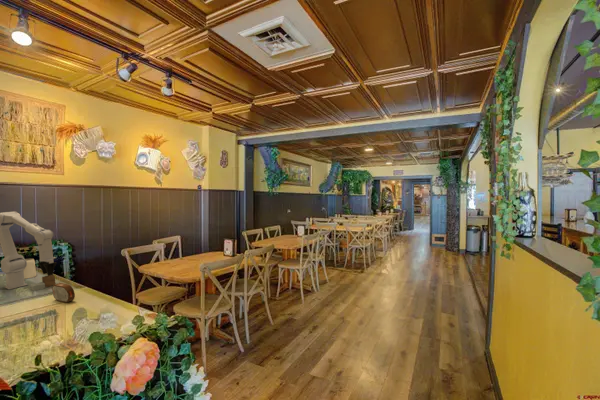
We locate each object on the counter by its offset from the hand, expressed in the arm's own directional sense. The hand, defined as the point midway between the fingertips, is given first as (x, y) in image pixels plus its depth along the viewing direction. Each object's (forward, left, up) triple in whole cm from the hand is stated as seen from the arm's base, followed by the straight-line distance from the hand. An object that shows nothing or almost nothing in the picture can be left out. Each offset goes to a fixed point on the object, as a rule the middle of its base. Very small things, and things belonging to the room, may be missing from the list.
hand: (48, 274), depth 162 cm
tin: (+40, -6, -7) cm, 41 cm away
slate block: (+1, -5, -7) cm, 9 cm away
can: (-36, 0, -7) cm, 37 cm away
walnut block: (0, 0, -7) cm, 7 cm away
